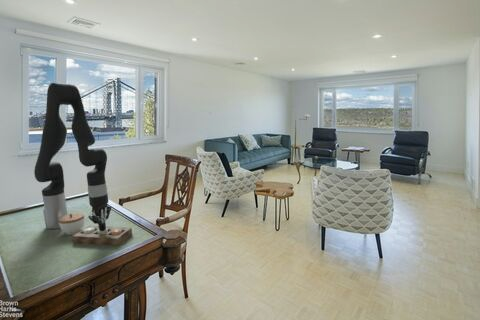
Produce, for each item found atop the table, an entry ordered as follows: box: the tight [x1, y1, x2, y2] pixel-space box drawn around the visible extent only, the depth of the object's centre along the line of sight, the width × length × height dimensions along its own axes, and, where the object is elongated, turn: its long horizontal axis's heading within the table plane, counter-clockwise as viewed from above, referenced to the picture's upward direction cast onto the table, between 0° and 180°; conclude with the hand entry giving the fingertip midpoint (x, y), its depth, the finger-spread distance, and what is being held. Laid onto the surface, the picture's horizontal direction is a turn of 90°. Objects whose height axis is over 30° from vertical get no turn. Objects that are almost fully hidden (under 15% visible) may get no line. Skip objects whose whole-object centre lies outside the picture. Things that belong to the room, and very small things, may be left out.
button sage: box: [97, 228, 108, 235], centre depth 124 cm, size 4×4×2 cm
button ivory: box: [82, 227, 94, 234], centre depth 125 cm, size 4×4×2 cm
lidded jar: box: [58, 212, 85, 236], centre depth 132 cm, size 11×11×9 cm
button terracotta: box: [111, 229, 122, 235], centre depth 123 cm, size 4×4×2 cm
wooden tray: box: [71, 225, 133, 247], centre depth 124 cm, size 22×11×3 cm, turn 80°
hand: (102, 230), depth 124 cm, fingers closed
